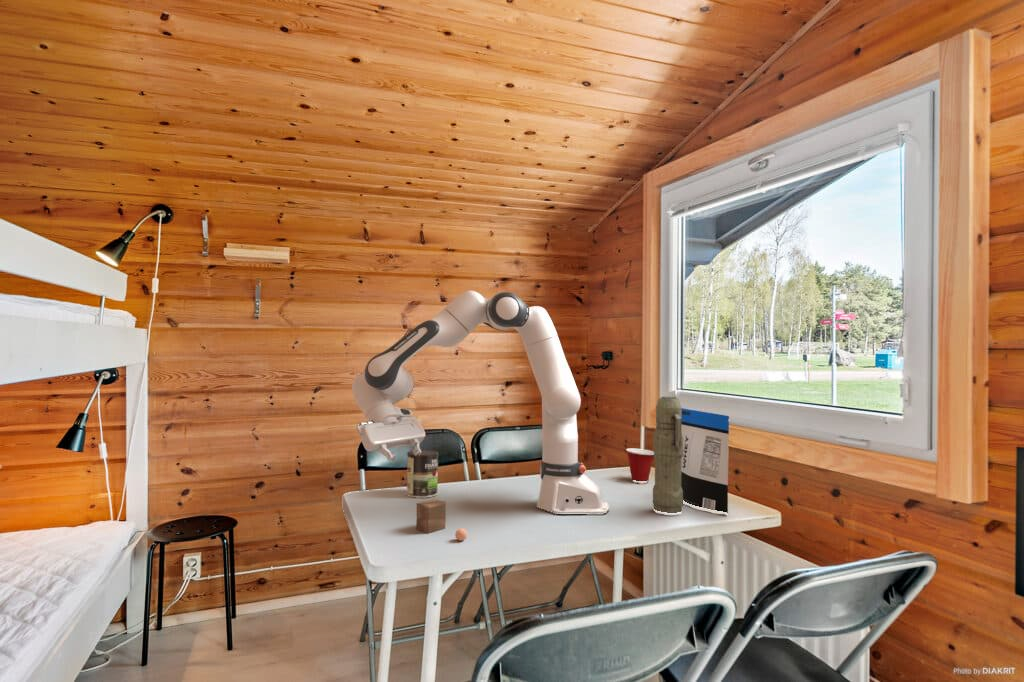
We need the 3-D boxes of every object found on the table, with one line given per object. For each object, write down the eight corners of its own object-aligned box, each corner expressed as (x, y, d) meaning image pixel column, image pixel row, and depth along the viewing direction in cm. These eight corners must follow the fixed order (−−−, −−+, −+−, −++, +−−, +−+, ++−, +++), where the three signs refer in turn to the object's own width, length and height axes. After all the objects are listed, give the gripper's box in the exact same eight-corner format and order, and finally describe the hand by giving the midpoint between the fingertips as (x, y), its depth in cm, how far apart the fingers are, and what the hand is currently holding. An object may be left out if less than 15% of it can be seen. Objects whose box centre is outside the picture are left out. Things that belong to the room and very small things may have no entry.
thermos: (667, 505, 187) (668, 395, 188) (691, 515, 176) (693, 398, 177) (643, 508, 184) (645, 395, 184) (667, 518, 173) (669, 399, 173)
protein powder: (714, 517, 175) (715, 416, 175) (666, 497, 197) (667, 408, 198) (740, 514, 178) (741, 415, 178) (689, 495, 201) (690, 407, 201)
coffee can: (444, 493, 199) (444, 451, 199) (424, 500, 190) (424, 456, 190) (420, 489, 204) (421, 448, 204) (400, 495, 195) (400, 452, 195)
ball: (467, 538, 152) (468, 527, 152) (465, 542, 149) (465, 530, 149) (456, 538, 152) (456, 526, 152) (454, 542, 149) (454, 530, 149)
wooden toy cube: (416, 529, 159) (416, 503, 159) (433, 524, 164) (433, 498, 164) (428, 533, 156) (428, 506, 156) (445, 528, 161) (445, 501, 161)
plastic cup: (658, 485, 214) (659, 452, 214) (629, 485, 214) (629, 452, 214) (651, 479, 225) (651, 447, 225) (623, 478, 225) (623, 447, 225)
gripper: (358, 416, 164) (380, 455, 158) (415, 409, 180) (437, 444, 173) (349, 430, 167) (370, 469, 161) (406, 423, 183) (427, 458, 176)
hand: (405, 456), depth 167 cm, fingers open, 8 cm apart
